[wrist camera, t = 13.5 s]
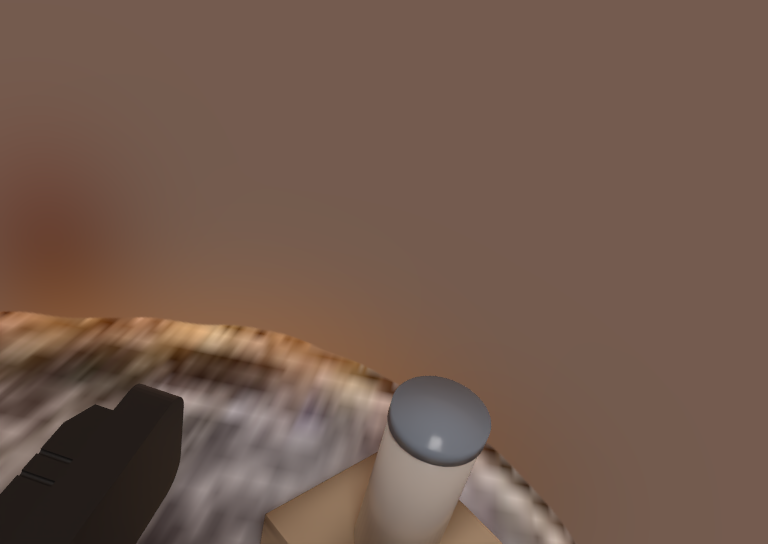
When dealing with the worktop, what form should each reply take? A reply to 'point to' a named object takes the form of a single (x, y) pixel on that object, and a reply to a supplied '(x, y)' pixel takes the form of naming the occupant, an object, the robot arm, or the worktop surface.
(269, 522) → the base block
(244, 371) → the worktop surface
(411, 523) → the canister
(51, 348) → the worktop surface
